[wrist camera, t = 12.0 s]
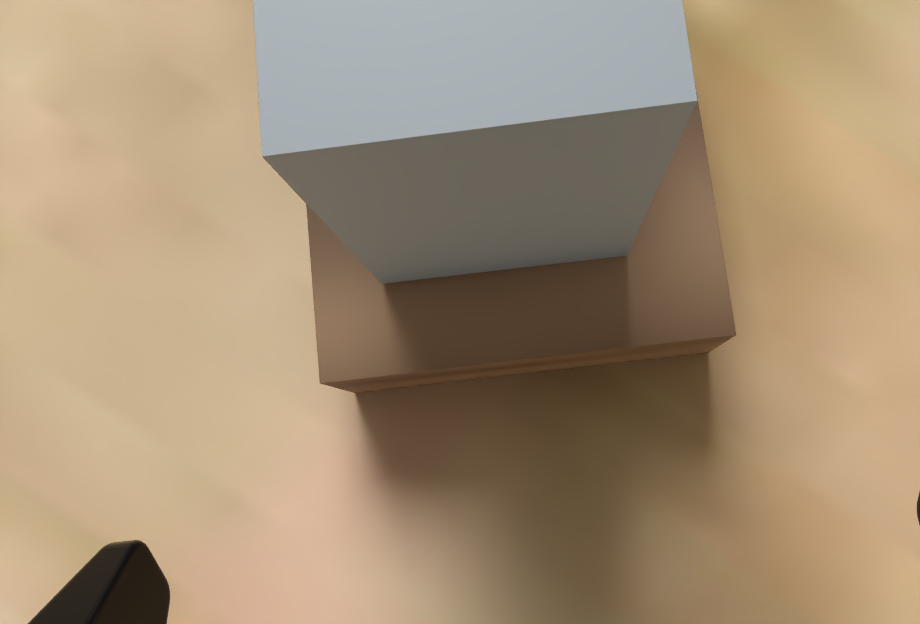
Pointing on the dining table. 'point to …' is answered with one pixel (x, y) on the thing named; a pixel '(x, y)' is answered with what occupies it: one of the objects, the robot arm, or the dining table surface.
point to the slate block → (473, 124)
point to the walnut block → (533, 301)
